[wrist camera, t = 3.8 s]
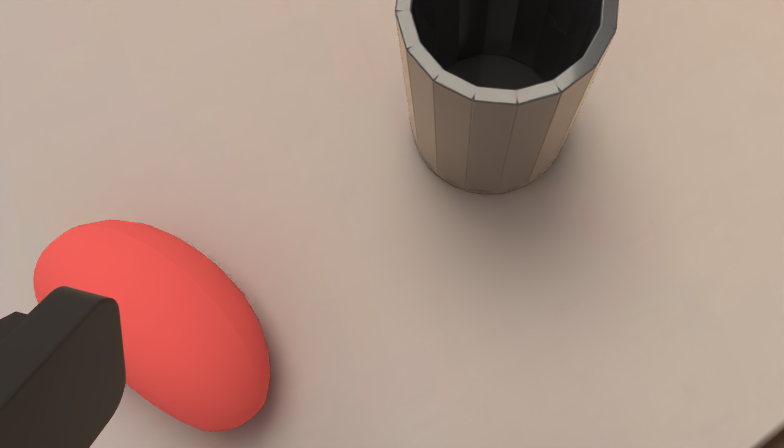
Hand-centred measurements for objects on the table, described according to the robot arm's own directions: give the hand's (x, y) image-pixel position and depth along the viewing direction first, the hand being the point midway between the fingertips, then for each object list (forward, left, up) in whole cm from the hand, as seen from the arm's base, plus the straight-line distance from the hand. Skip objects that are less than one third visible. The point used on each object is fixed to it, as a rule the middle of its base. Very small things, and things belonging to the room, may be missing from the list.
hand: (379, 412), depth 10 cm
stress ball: (+8, +5, -17) cm, 19 cm away
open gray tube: (+7, -9, -17) cm, 20 cm away
